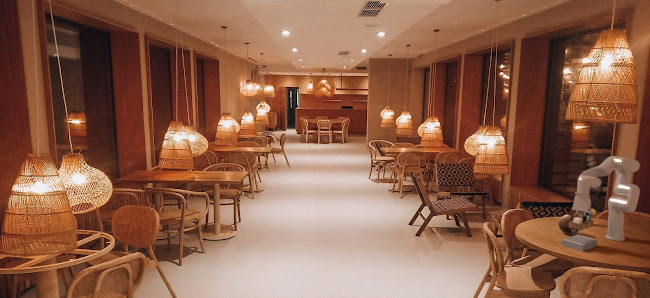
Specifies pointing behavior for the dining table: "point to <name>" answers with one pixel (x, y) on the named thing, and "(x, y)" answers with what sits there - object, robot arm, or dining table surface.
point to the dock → (579, 242)
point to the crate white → (577, 220)
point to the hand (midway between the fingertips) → (581, 220)
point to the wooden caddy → (583, 225)
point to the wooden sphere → (567, 225)
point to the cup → (591, 214)
